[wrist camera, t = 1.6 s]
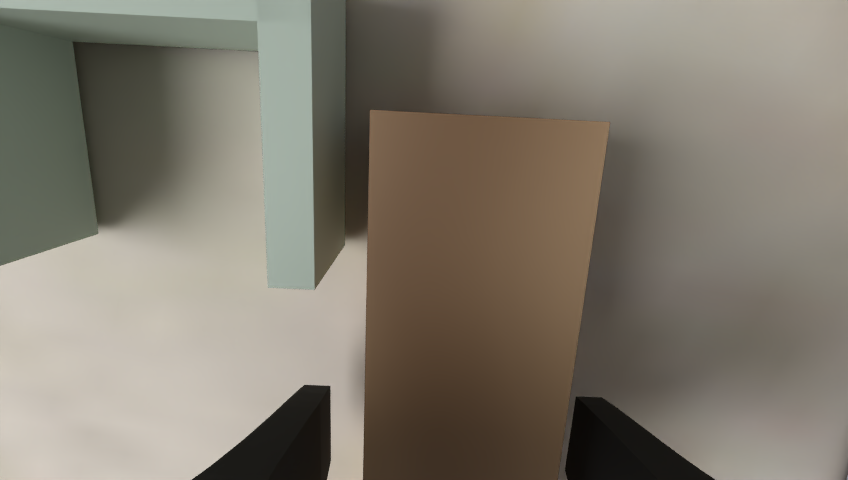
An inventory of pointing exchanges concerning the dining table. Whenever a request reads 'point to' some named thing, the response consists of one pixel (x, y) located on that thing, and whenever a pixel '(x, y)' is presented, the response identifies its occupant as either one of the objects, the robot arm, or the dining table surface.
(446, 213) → the slat
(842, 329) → the dining table surface
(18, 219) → the sliding cap
